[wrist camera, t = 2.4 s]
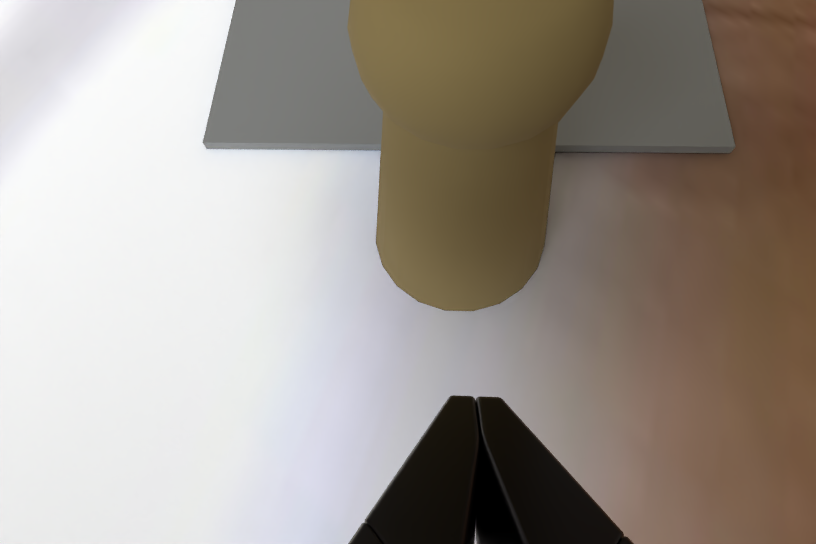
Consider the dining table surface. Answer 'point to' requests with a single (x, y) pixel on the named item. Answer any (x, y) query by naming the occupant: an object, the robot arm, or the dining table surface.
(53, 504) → the dining table surface
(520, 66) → the cork
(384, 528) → the robot arm
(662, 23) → the rubber mat
